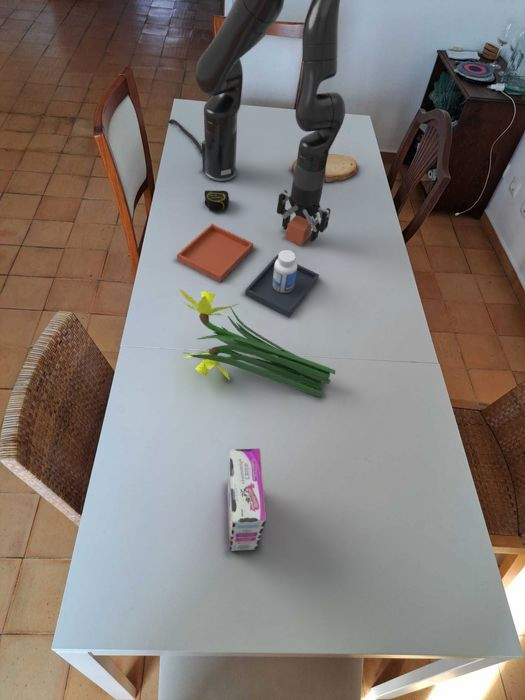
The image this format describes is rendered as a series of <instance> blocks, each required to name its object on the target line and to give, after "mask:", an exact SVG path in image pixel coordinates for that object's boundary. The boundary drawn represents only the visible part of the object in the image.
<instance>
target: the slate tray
mask: <svg viewBox="0 0 525 700" xmlns="http://www.w3.org/2000/svg"><path fill="white" fill-rule="evenodd" d="M278 255H279V254H276V256H275V257H274V258H273V259H271V261H269V263H268V265H267V266H266V267H265V268H264V269H263V270H262V271H261V272H260V273H259V274H258V275H257V276H256V277H255V279H253V280H252V281H251V283H250V284H249V285H248V286H247V287H246V288H245V289H244V291H245V293H244V296H245V297H248V298H250V299H252V300H254V301H256V302H257V303H259V304H262V305H263V306H265V307H267V308H269V309H271V310H273V311H275V312H277V313H279V314H281V315H283V316H285V317H287V318H289V317H290V316H291V315H292V314H293V313H294V311H295V310H296V309H297V307H298V306H299V305H300V304H301V302H302V301H303V300H304V299H305V297H306V296H307V295H308V293H309V292H311V290H312V288H313V287H314V286H315V284H316V283H317V282H318V281H319V278H320V277H319V276H320V274H319V273H317V272H315V271H313V270H311V269H309V268H306V267H305V266H302V265H301V264H298V263H297V272H296V278H295V284H294V288H293V289H292V290H291V291H290V292H288V293H281V292H278V291H276V290H275V289H274V287H273V274H274V265H275V261H276V260H277V259H278Z"/></svg>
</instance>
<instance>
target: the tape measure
mask: <svg viewBox="0 0 525 700" xmlns="http://www.w3.org/2000/svg"><path fill="white" fill-rule="evenodd" d="M229 204H230V197H229V192H228V191H227V190H205V191H204V205H205V206H206V208H207V209H208V210H209V211H213V212H223V211H224V210H226V209H228V207H229Z"/></svg>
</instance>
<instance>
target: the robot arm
mask: <svg viewBox="0 0 525 700" xmlns="http://www.w3.org/2000/svg"><path fill="white" fill-rule="evenodd" d="M340 3H341V0H310V3H309V6H308V8H307V9H308V10H307V12H306V15H305V19H304V22H303V27H302V39H301V40H302V42H301V45H302V73H301V79H300V84H299V90H298V95H297V100H296V104H295V111H294V116H295V122H296V124H297V126H298V128H299V129H300V130H302V131H303V132H307V133H308V132H310V133H309V134H306V135H304V136H303V137H301V139H300V141H299V142H298V143H299V144H298V150H297V156H296V159H297V162H296V166H295V170H294V173H292V185H291V191H290V192H291V193H288V191H287V190H286V189H284V190H283V191H281V193H280V194H278V198H277V199H278V200H277V207H276V213H277V214H278V215H281V217H282V222H281V227H282V229H283V230H284V231H287V227H288V223H289V222H290V221H291V218H292V217H291V215H293V214H295V215H294V216H296V215H297V216H301V217H302V218H304V219H307V221H308V223H309V225H311V227H312V229H311V234H310V237H309V238H310V239H309V242H311V243H313V242H315V241H317V239H318V238H319V234H320V233H324V232H325V231H326V229H327V228H328V227H329V226H328V225H329V221H330V215H331V208H329V207H327V208H323V207H321V204H320V202H321V197H322V193H323V189H324V184H325V182H324V179H325V173H326V164H327V159H328V154H330V150H331V148H332V146H333V144H334V142H335V139H336V138H337V136H338V134H339V132H340V130H341V127H342V125H343V123H344V120H345V117H346V103H345V99H344V98H343V96H342V95H341V94H340V93H339V92H335V91H329V92H319V93H318V90H319V88H320V85H321V83H323V82H325V81H327V80H330V79H332V78H334V77H335V76H336V75H337V72H338V46H339V44H338V43H339V42H338V41H339V39H338V38H339V14H340V6H341V4H340ZM284 4H285V0H234V2H233V4H232V5H231V8H230V9H229V11H228V13H227V15H226V17H225V18H224V20H223V22H222V23H221V25H220V28H219V30H218V31H217V33H216V35H215V36H214V38H213V39H212V41H211V42H210V44H209V45H208V46H207V48H206V49H205V51H204V52H203V53H202V54H201V56H200V57H199V59H198V61H197V63H196V67H195V80H196V83H197V86H198V89H199V90H200V91H201V92H202V93H203V94H205V95H206V96H209V99H208V100H207V101H206V102H205V104H204V106H203V131H204V140H203V141H202V142H201V145H200V143H199V142H198V140H197V139H196V138H195V137H194V136H193V135H192V134H191V133H190V132H189V131H187V129H185V127H183V125H181V124H180V123H179V122H178V121H177V120H176V119H174V118H173V119H169V120H168V123H169V124H175V125H176V126H177V127H178V128H179V129H180V130H181V131H182V132H183V133H184V134H185V135H186V136H187V137H189V139H191V141H192V142H193V143H194V145H195V146H196V148H197V149H198V151H199V153H200V155H201V156H202V157H201V160H202V161H201V164H202V173H204V174H205V176H206V177H207V178H208V179H210V180H211V181H216V182H228V181H231V180H232V179H233V178H235V177H236V174H237V168H236V166H237V141H238V139H237V137H238V113H239V111H240V109H241V104H242V95H243V84H244V83H243V81H244V71H243V65H242V61H241V58H242V57H244V56H245V55H246V54H247V53H248V52H250V51H251V50H252V49H253V48H255V46H256V45H258V44H259V43H260V42H261V41H262V40H263V39H264V38H265V37H266V35H267V34H268V33H269V32H270V30H271V28H272V27H273V26H274V25H275V23H276V21H277V20H278V18H279V17H280V15H281V13H282V11H283V9H284ZM287 201H288V203H289V205H290V207H289V208H286V205H287ZM319 218H320V219H319Z"/></svg>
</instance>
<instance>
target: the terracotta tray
mask: <svg viewBox="0 0 525 700" xmlns="http://www.w3.org/2000/svg"><path fill="white" fill-rule="evenodd" d="M253 249H254V242H251V241H249V240H247V239H246V238H244V237H241V236H239V235H236V234H234V233H232V232H230V231H229V230H226V229H223V228H222V227H220V226H218V225H216V224H213V223H211V224H210V225H209V226H207V228H205V229H204V230H203V231H202V232H200V234H199V235H198V236H197V237H195V238H194V239H193V240H191V242H190V243H188V244H187V245H186V246H185V247H184V248H183V249H181V250H180V251H179V252H178V253H177V254H176V260H177V262H179V263H181V264H183V265H185V266H187V267H189V268H191V269H193V270H195V271H197V272H199V273H200V274H202V275H204V276H206V277H208V278H210V279H212V280H214V281H216V282H218V283H221V282H223V280H224V279H225V278H227V276H228V275H229V274H230V273H231V272H232V271H233V270H234V269H235V268H237V266H238V265H239V264H240V263H241V262H242V261H243V260H244V259H245V258H246V257H247V256H248V255H249V254H250V253H251V252H252V251H253Z"/></svg>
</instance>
